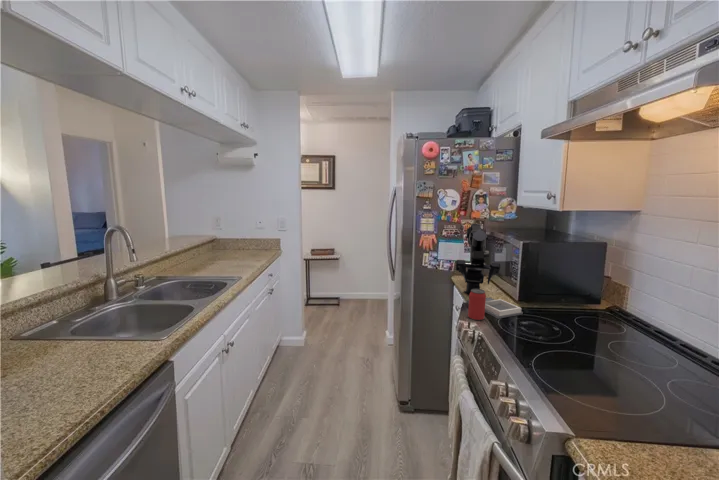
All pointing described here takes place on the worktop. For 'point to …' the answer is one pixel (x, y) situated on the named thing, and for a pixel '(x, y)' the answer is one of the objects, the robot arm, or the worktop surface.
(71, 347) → the worktop surface
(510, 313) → the plate
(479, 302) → the beer can
